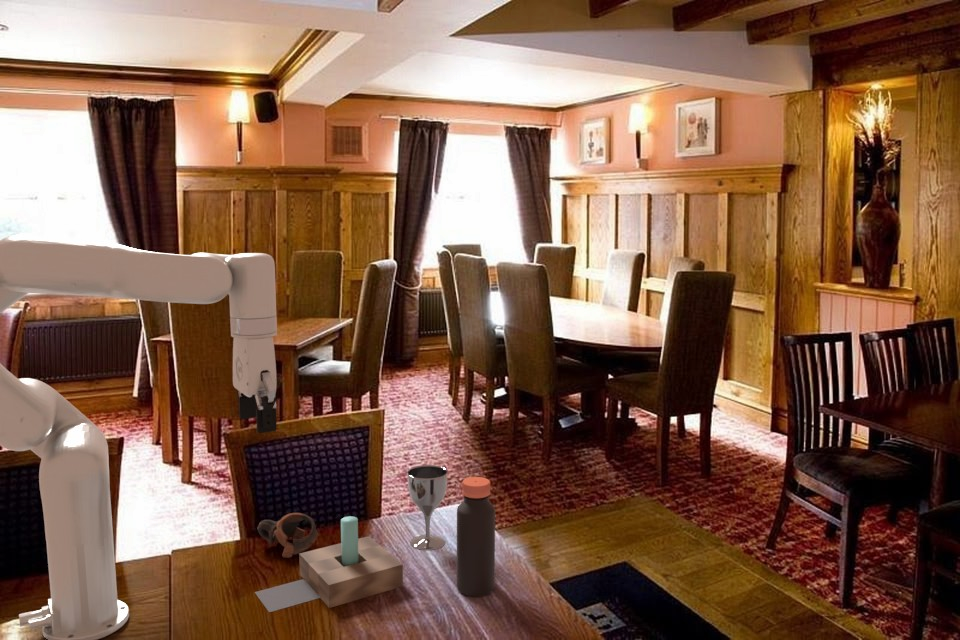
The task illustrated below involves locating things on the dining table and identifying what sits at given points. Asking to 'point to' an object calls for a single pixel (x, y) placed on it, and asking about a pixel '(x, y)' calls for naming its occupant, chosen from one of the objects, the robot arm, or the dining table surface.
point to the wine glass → (427, 500)
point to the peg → (349, 540)
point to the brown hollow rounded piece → (288, 533)
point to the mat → (286, 595)
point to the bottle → (475, 539)
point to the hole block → (350, 572)
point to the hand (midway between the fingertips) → (257, 424)
